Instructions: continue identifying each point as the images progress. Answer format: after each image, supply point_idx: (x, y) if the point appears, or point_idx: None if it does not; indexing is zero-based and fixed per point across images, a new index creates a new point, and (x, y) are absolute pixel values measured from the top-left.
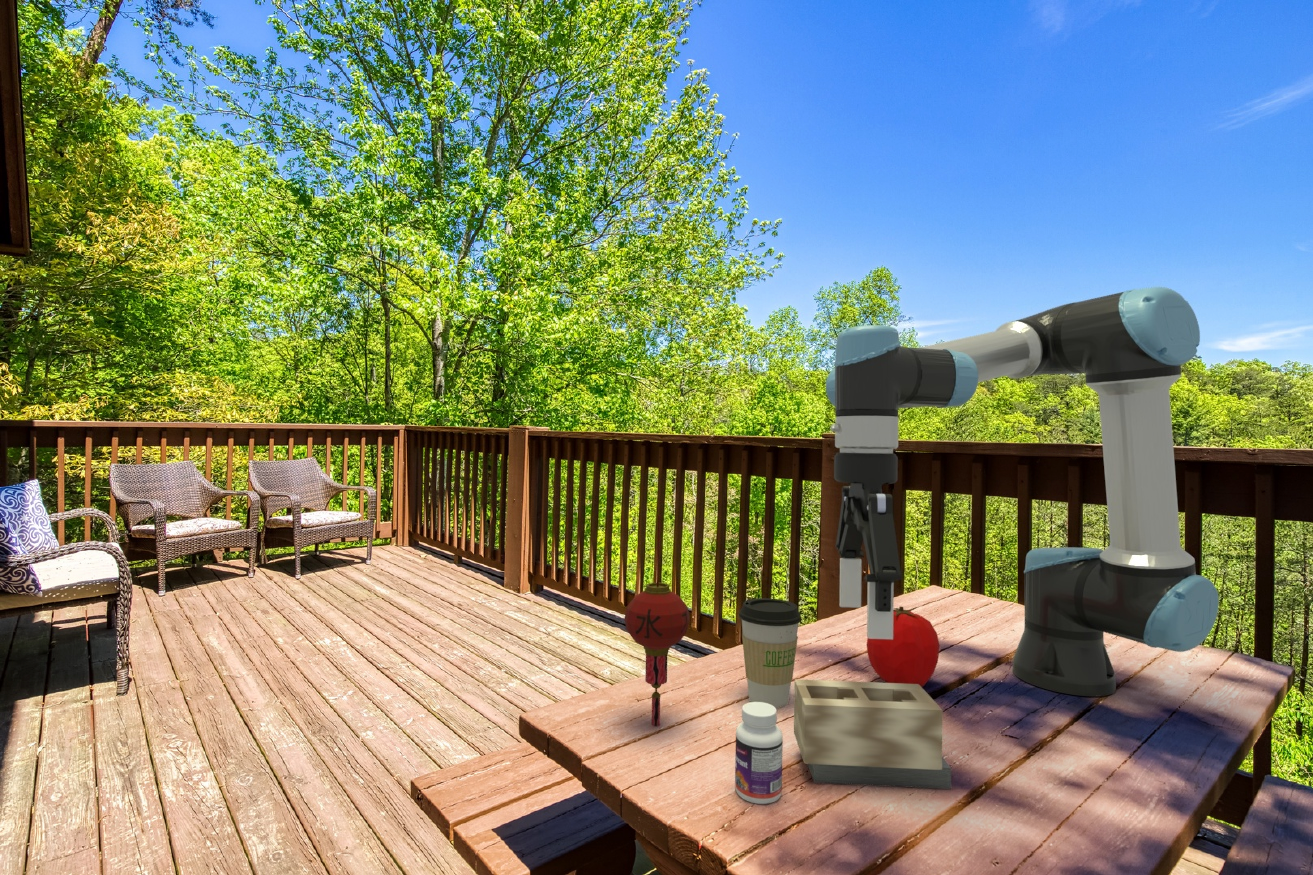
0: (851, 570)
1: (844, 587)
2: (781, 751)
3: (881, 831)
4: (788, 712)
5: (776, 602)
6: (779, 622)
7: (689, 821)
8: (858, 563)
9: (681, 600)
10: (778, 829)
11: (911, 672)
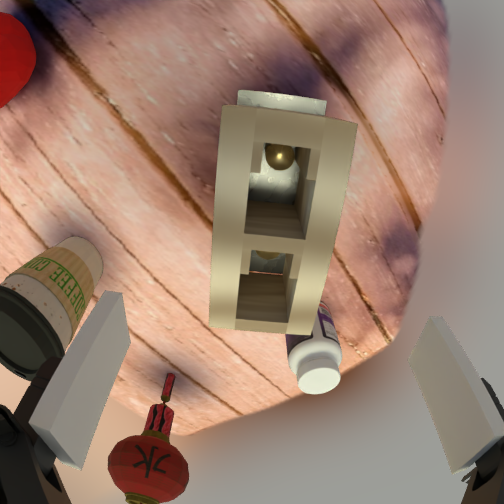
0: (82, 415)
1: (108, 379)
2: (330, 332)
3: (388, 224)
4: (110, 244)
5: None
6: (55, 341)
7: (340, 364)
8: (61, 422)
9: (140, 480)
10: (366, 310)
11: (29, 56)
